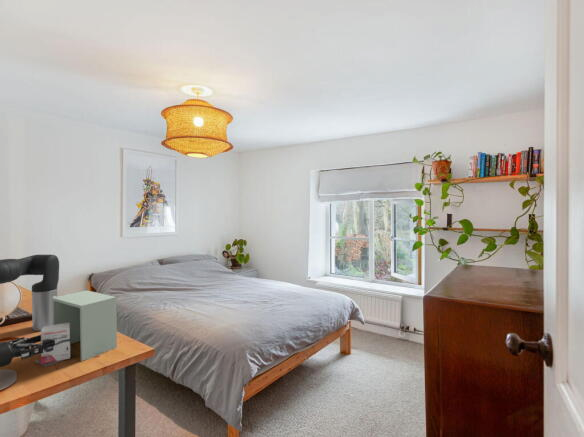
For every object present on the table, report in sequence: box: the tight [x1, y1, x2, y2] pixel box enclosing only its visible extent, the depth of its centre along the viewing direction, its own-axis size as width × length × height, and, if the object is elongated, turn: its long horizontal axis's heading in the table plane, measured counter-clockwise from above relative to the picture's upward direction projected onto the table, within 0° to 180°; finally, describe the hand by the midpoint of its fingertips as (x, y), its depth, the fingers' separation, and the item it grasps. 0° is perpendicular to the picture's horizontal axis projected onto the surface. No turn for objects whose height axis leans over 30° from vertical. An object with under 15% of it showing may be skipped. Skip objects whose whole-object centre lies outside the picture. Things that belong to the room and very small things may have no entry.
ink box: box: [40, 323, 72, 365], centre depth 117 cm, size 8×5×12 cm, turn 124°
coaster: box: [35, 358, 66, 368], centre depth 116 cm, size 7×7×1 cm
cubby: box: [52, 290, 118, 362], centre depth 126 cm, size 20×13×20 cm, turn 61°
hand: (48, 339), depth 115 cm, fingers open, 8 cm apart
